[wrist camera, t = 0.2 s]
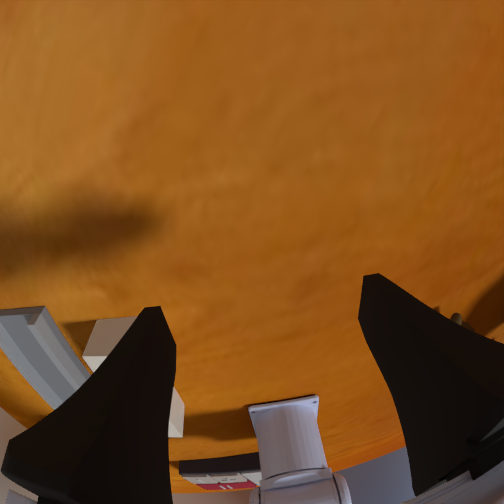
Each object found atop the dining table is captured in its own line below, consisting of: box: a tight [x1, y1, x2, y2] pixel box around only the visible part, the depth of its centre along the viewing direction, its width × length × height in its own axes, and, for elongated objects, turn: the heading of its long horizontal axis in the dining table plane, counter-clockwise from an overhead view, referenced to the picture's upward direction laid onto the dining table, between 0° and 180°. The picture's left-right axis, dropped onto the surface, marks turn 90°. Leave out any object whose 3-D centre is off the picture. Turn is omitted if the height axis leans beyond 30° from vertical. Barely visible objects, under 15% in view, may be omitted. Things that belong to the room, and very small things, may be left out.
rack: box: [0, 306, 91, 410], centre depth 25 cm, size 18×8×2 cm, turn 7°
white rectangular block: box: [82, 316, 185, 437], centre depth 24 cm, size 14×4×4 cm, turn 7°
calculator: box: [179, 452, 262, 490], centre depth 40 cm, size 11×4×15 cm
